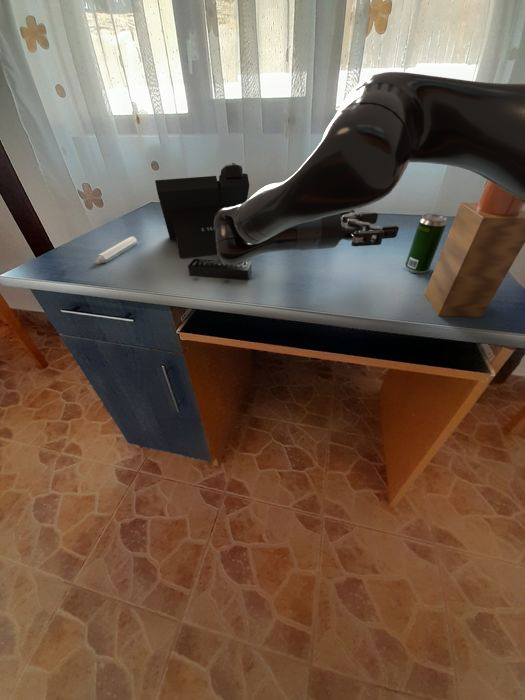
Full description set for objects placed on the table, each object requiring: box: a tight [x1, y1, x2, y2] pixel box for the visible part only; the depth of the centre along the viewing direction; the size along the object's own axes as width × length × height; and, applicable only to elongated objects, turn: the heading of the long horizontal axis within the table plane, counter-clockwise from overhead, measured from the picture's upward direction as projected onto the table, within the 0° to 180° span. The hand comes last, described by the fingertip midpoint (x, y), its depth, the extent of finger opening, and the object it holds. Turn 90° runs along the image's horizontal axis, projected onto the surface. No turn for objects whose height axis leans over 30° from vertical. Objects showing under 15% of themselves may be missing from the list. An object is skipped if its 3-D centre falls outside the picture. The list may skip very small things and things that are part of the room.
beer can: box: [404, 213, 448, 275], centre depth 68 cm, size 5×5×12 cm
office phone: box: [154, 162, 250, 260], centre depth 83 cm, size 29×28×20 cm
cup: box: [476, 180, 525, 216], centre depth 45 cm, size 6×6×8 cm
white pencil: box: [94, 236, 138, 265], centre depth 79 cm, size 3×2×16 cm
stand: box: [424, 202, 525, 318], centre depth 54 cm, size 8×8×18 cm
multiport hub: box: [187, 258, 253, 281], centre depth 70 cm, size 4×14×2 cm, turn 80°
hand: (386, 224), depth 63 cm, fingers open, 8 cm apart
